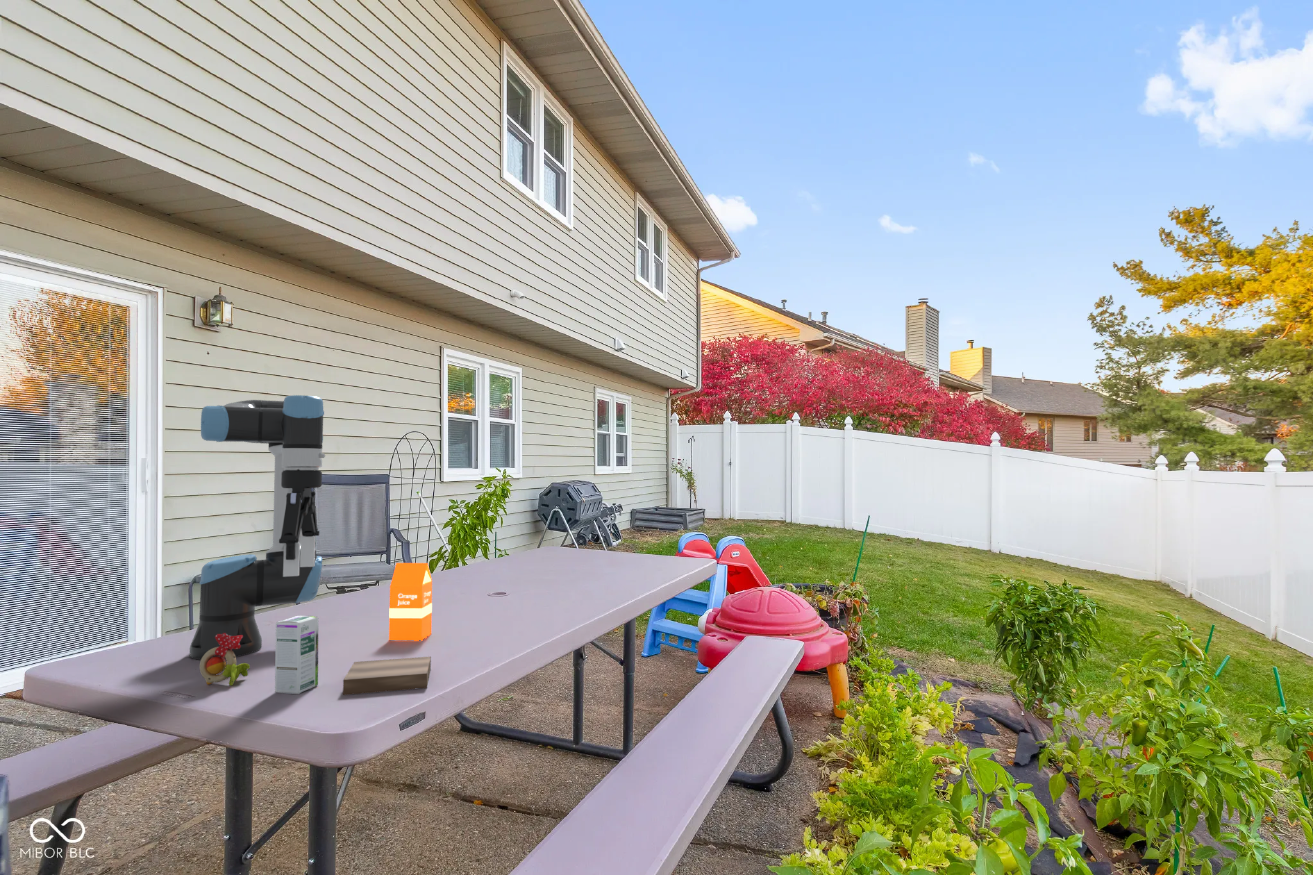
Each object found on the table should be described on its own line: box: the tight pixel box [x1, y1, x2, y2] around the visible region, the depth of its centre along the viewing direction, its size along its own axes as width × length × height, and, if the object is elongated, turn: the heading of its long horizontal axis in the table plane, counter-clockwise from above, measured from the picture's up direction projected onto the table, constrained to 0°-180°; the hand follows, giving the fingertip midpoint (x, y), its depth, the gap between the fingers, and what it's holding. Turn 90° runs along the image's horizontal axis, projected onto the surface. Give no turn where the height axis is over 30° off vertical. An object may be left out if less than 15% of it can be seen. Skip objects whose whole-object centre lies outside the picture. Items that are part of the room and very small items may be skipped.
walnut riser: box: [342, 656, 432, 696], centre depth 143 cm, size 13×16×3 cm
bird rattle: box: [199, 633, 251, 687], centre depth 142 cm, size 6×11×9 cm
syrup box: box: [274, 615, 319, 695], centre depth 138 cm, size 6×6×14 cm
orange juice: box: [388, 562, 433, 642], centre depth 181 cm, size 8×9×20 cm
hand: (299, 571), depth 139 cm, fingers open, 13 cm apart
